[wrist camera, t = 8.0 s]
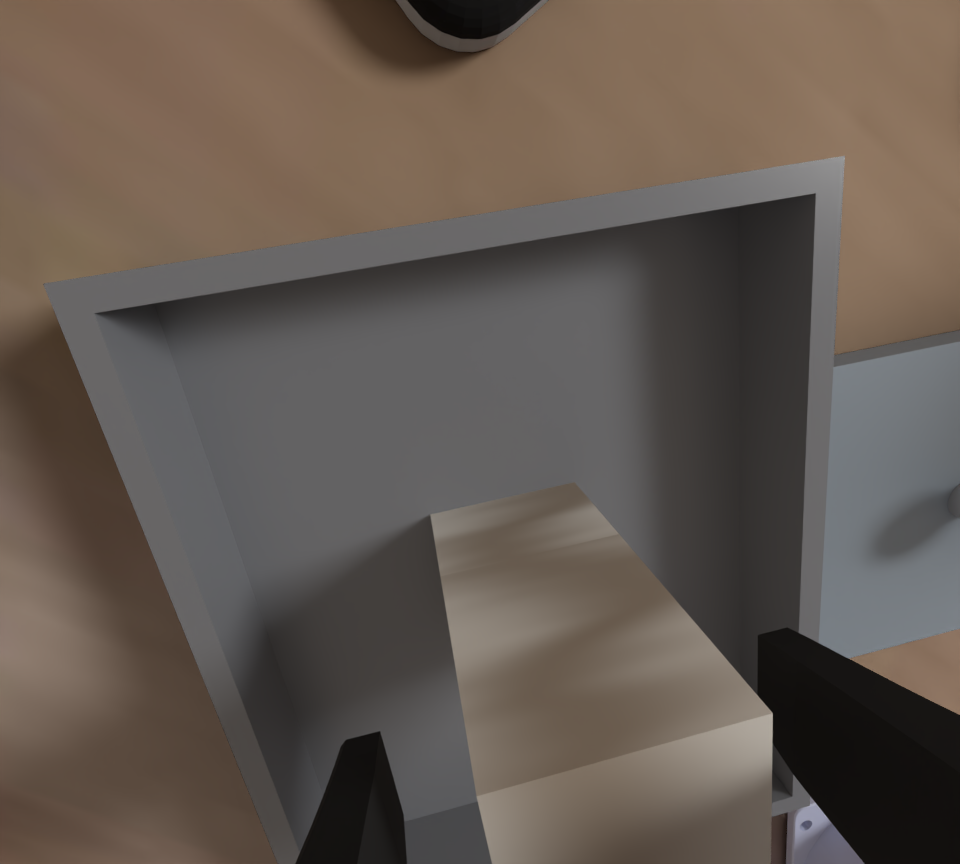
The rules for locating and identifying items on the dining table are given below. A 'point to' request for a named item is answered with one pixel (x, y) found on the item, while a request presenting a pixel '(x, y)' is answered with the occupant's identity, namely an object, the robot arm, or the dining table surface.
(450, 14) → the remote control
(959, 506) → the stud plate
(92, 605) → the dining table surface
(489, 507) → the beige block
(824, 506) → the bin
